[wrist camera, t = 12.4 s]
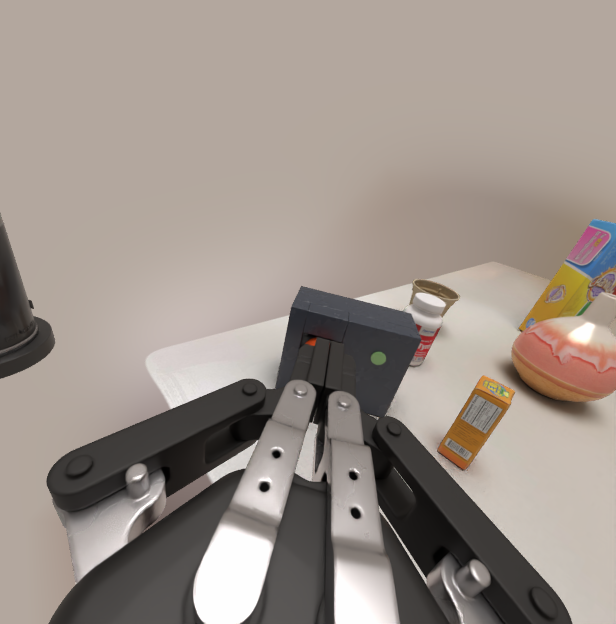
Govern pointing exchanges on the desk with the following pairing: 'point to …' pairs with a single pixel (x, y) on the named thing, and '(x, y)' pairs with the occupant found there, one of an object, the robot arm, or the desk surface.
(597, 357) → the vase
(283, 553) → the robot arm
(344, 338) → the control box
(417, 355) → the pill bottle
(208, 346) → the desk surface
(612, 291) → the game box
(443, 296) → the flower pot
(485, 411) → the supplement box
